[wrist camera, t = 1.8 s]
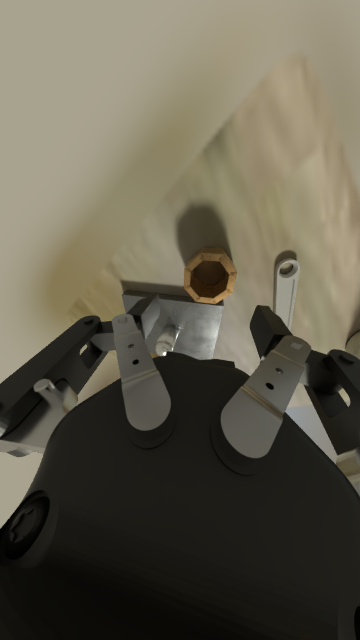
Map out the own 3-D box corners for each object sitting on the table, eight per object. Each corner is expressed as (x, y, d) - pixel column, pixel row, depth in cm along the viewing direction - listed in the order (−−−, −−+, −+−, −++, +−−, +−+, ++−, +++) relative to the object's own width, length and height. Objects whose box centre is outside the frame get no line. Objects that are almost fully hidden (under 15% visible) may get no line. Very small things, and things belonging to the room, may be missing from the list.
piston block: (223, 300, 25) (226, 328, 18) (211, 355, 33) (210, 388, 26) (127, 290, 28) (100, 311, 21) (137, 343, 36) (120, 370, 29)
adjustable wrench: (273, 259, 21) (277, 262, 19) (329, 250, 19) (338, 253, 17) (258, 372, 33) (260, 379, 32) (291, 374, 32) (295, 381, 30)
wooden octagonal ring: (236, 248, 20) (241, 255, 16) (226, 291, 24) (228, 305, 20) (190, 246, 21) (185, 251, 17) (188, 287, 25) (183, 300, 21)
